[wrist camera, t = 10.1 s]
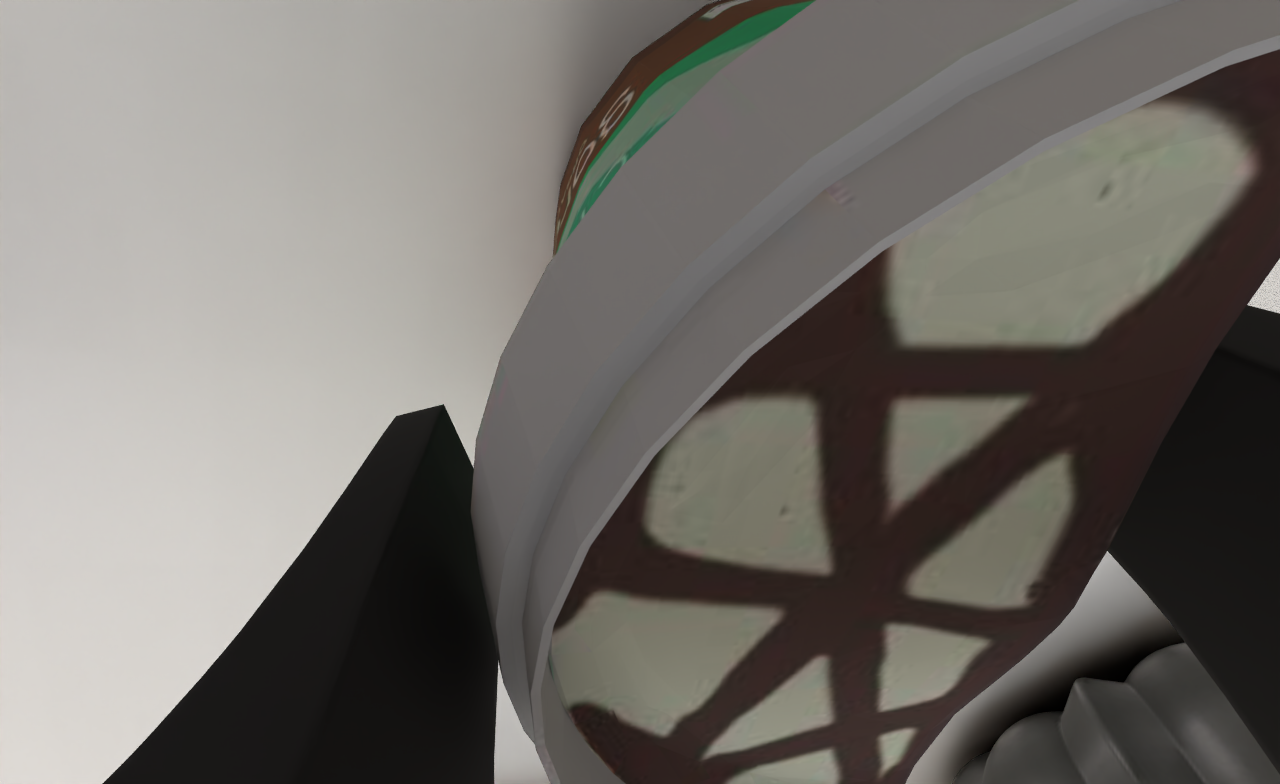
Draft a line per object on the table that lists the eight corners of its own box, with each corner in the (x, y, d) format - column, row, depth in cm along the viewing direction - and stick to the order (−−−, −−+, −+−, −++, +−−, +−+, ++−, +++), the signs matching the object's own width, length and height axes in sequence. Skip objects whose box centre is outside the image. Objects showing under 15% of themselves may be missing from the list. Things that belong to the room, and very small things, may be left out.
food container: (494, -196, 10) (369, -591, 2) (885, -128, 11) (1883, -186, 3) (495, 453, 17) (471, 958, 9) (732, 453, 18) (900, 900, 10)
